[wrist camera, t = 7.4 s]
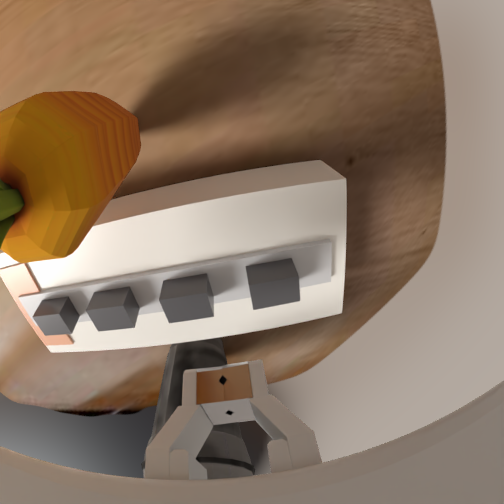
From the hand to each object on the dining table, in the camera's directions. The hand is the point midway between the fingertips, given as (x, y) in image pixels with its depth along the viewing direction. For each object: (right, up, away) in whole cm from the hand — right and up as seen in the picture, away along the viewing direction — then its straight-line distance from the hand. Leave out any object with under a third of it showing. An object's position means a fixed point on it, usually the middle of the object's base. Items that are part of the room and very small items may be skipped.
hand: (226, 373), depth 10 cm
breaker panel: (-5, +5, +9) cm, 11 cm away
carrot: (-6, +12, +4) cm, 14 cm away
